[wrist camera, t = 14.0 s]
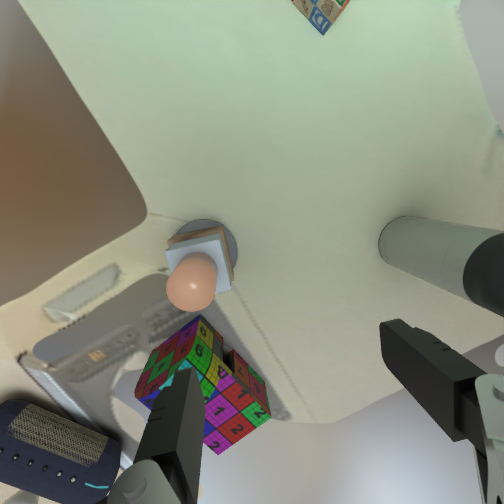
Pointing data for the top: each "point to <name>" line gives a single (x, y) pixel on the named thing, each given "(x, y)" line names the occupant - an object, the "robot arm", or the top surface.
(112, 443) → the portable speaker
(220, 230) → the walnut base block
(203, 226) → the slate coaster
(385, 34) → the top surface
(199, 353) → the numbered checker block
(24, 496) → the lightbulb
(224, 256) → the grey-blue top block
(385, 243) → the robot arm
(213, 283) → the peach rounded cylinder
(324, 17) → the stack of blocks
